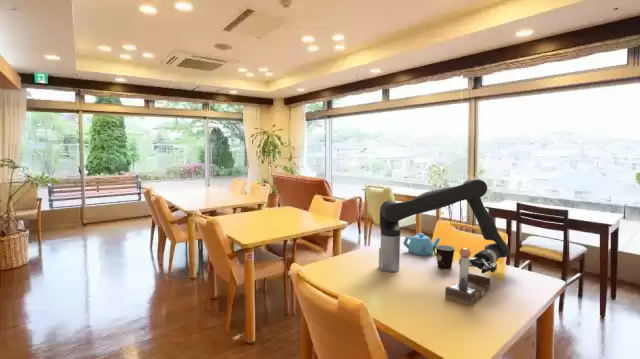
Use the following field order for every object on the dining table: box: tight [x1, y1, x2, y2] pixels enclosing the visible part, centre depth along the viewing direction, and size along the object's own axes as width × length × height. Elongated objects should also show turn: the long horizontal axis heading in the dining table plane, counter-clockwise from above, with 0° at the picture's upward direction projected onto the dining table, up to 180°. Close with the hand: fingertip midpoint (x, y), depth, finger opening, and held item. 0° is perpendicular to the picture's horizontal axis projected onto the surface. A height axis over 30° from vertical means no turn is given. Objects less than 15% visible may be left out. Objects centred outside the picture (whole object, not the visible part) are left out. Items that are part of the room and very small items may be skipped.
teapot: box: [402, 232, 441, 257], centre depth 198 cm, size 15×15×11 cm
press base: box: [444, 272, 492, 307], centre depth 145 cm, size 22×10×4 cm, turn 137°
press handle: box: [450, 247, 476, 296], centre depth 140 cm, size 5×8×18 cm, turn 47°
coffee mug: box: [433, 244, 455, 271], centre depth 176 cm, size 12×9×10 cm
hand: (471, 268), depth 146 cm, fingers open, 8 cm apart
